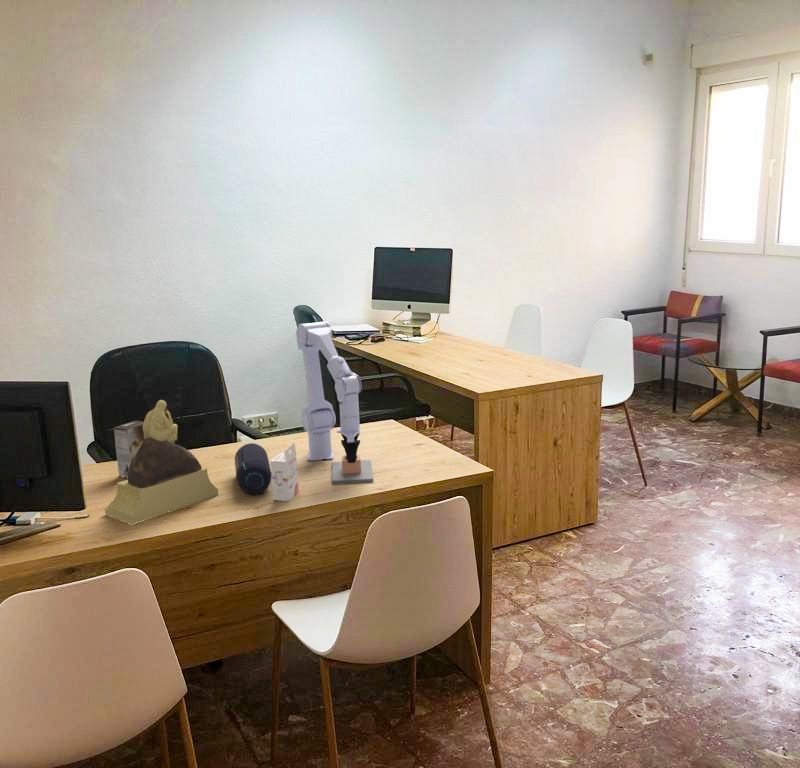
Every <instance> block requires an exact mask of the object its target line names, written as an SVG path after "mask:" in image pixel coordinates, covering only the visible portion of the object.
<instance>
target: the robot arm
mask: <svg viewBox="0 0 800 768" xmlns="http://www.w3.org/2000/svg"><path fill="white" fill-rule="evenodd" d="M295 336H296V343H297V344H296V345H297V346H298V347H297V348H298V350H300V351H302V356H303V357H302V358H303V363H304V364H303V366H304V373H305V379H306V385H307V386H306V388H307V389H306V390H307V396H308V402H307V403H306V404H304V405H303V406H302V408H301V424H302V427H303V430H305V431H306V432H307V433H308V435H307V436H308V456H307V461H322V460H323V459H326V460H333V459H334V449H332V436H331V434H332V433H331V431H333V427H335V424H336V421H337V419H336V413H335V411H334V408H333V404H332V403H330V402H329V401H328V400H326V399H325V394H324V393H325V392H324V385H323V378H322V377H323V376H322V371H321V370H322V369H321V363H320V354H319V351H320V352H321V353H322V355H323V356H324V358H325V359H326V361H327V364H326V367H327V369H328V372H329V374H330V375H331V377H332V379H333V380H334V381H333V382H335V383H334V390H335V392H336V397H337V401H338V403H339V405H338V406H339V418H340V419H339V421H340V422H339V425H340V428H338V429H336V433H337V434H340V435H341V437H342V439H341V440H340V444H341V445H342V447H343V449H344V452H345V455H346V456H347V460H348V463H355V461H356V455H358V448H359V446H360V444H361V439H360V440H359V439H358V438H359V437H360V436H359V435H360V434H361V428H360V426H361V424H360V408H359V406H360V405H359V402H360V401H359V394H360V393H361V392H362V387H363V386H362V380H361V378H360V376H359V375H358V374H356V373H355V372H353V371H352V370H351V369H350V367H349V365H348V363H347V361H346V360H345V358H344V357H343V356H339V354H338V352H337V349H336V346H335V345H334V343H333V342H334V341H333V340H332V337H333V331H332V327H331V324H330V323H329V322H328V321H327V320H324V321H319V322H318V321H317V322H311V323H310V322H309V323H307V322H306V323H299V324H298V326H297V328H296V330H295ZM323 461H324V460H323Z"/></svg>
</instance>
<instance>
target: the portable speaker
mask: <svg viewBox="0 0 800 768" xmlns="http://www.w3.org/2000/svg"><path fill="white" fill-rule="evenodd" d="M234 466H235V476H236V481H237V485H238V486H239V488H240V489H241V490H242V491H244V492H245V493H248V494H253V495H255V494H260V493H263V492H265V491H266V490H267V489H268V488H269V486H270V485H271V483H272V475H271V464H270V461H269V456H268V453H267V451H266V449H265V448H264V447H263V446H261V445H259V444H257V443H253V442H252V443H246V444H244V445H243V446H240V447H239V448H238V450H237V451H236V452H235V456H234Z"/></svg>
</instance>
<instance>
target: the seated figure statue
mask: <svg viewBox="0 0 800 768" xmlns="http://www.w3.org/2000/svg"><path fill="white" fill-rule="evenodd" d="M167 406H168V405H167V402H166V401H165V400H163V399H160V400H158V401H157V402H156V404H155V406H154V408H153V409H152V410H149V411H148V412H147V414H146V415H145V418H144V420H143V422H144V424H143V431H144V435H145V438H146V439H145V440H144V441H143V442H142V443H141V444H140V445H139V447H138V449H137V451H136V454H135V458H134V460H133V461H132V462H131V464H130V466H129V468H128V478H127V479H126V480H122V481H120V482H117V483H116V485H117V490H116V495H115V497H114V498H113V500H112V501H110V503H109V504H108V505H107V506H106V507H104V515H105V514H106V515H105V516H107V515H109V516H112V517H114V518H113V519H115V518H116V519H115V520H117V519H119V520H118V521H120V520H122V521H125V522H127V523H126V524H128V523H130V524H134V523H136V522H139V521H142V520H145V519H148V518H151V517H154V516H157V515H160V514H163V513H166V512H168V511H171V512H173V511H172V510H174V511H176V510H175V509H177V510H179V509H178V508H180V509H182V508H184V506H185V507H188V506H191V505H193V503H194V504H196V503H198V502H202V501H205V500H207V498H208V499H210V497H211V498H212V496H213V497H216V496H218V495H219V488H218V487H216V486H215V485H214V484H213V483H212V481H211V480H210V478H209V474H208V468H206V467H203V466H202V465H201V463H200V461H199V460H198V459H197V457H196V456H195V455H194V454H193V453H192V452H191V451H190V450H188V449H187V448H186V447H183V446H181V445H179V444H175V443H176V441H178V427H179V426H178V424H176V423H174V421H173V418H172V415H171V413H170V411H169V410H168V409H167ZM167 416H168V417H167ZM148 433H149V437H148ZM215 495H216V496H215ZM204 499H205V500H204ZM201 500H202V501H201ZM190 504H191V505H190ZM181 507H182V508H181ZM168 513H169V512H168ZM166 514H167V513H166ZM163 515H164V514H163ZM109 516H108V517H109ZM160 516H161V515H160ZM112 517H111V518H112ZM157 517H158V516H157ZM154 518H155V517H154ZM151 519H152V518H151ZM122 521H121V522H122ZM125 522H124V523H125ZM130 524H129V525H130Z"/></svg>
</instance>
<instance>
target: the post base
mask: <svg viewBox="0 0 800 768" xmlns="http://www.w3.org/2000/svg"><path fill="white" fill-rule="evenodd" d="M331 471H332V474H331V479H332V480H331V484H332V485H341V484H343V485H344V483H346V484H361V483H362V484H363V483H374V476H373V467H372V460H361V473H347V474H343V473H342V461H335V462H332V470H331Z"/></svg>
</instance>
